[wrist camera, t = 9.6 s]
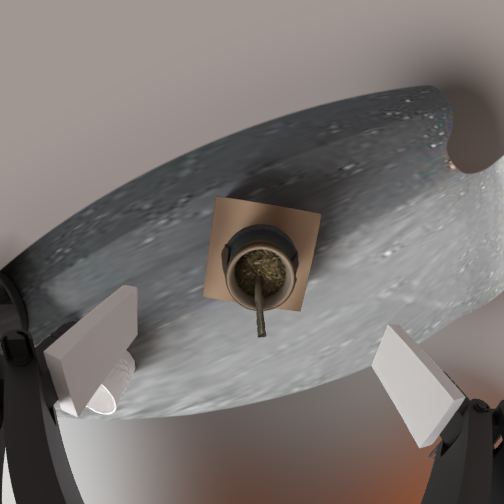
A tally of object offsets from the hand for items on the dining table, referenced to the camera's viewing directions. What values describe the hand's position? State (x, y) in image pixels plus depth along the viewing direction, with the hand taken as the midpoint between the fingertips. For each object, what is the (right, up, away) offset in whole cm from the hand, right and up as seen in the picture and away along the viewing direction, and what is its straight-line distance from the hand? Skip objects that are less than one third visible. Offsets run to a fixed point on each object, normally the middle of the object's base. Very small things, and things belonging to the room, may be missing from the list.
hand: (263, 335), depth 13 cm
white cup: (-23, -14, +26) cm, 38 cm away
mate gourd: (0, +4, +16) cm, 16 cm away
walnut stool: (0, +5, +22) cm, 22 cm away
